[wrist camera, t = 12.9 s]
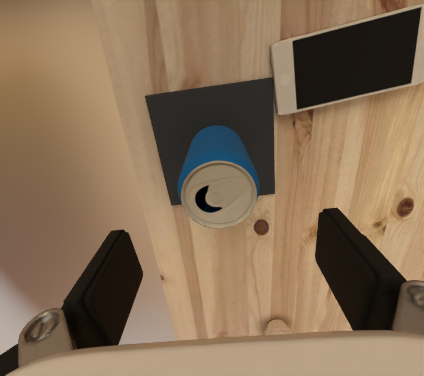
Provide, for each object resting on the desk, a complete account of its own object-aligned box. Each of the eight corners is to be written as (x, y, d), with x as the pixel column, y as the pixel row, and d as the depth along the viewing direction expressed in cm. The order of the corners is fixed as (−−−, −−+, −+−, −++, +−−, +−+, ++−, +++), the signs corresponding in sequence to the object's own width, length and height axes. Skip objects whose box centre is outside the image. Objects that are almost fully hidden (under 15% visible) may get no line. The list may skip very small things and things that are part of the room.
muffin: (261, 336, 44) (268, 379, 38) (258, 315, 41) (266, 358, 35) (293, 333, 44) (306, 376, 37) (292, 312, 41) (306, 354, 35)
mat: (146, 95, 25) (144, 96, 25) (271, 77, 25) (273, 77, 24) (172, 203, 31) (171, 205, 31) (273, 192, 31) (274, 193, 30)
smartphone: (269, 44, 23) (271, 43, 22) (432, 1, 22) (441, -2, 21) (276, 115, 26) (278, 116, 25) (419, 82, 25) (427, 82, 24)
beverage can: (179, 140, 27) (157, 181, 16) (228, 113, 26) (239, 138, 15) (206, 184, 29) (202, 244, 19) (252, 161, 28) (276, 212, 17)
